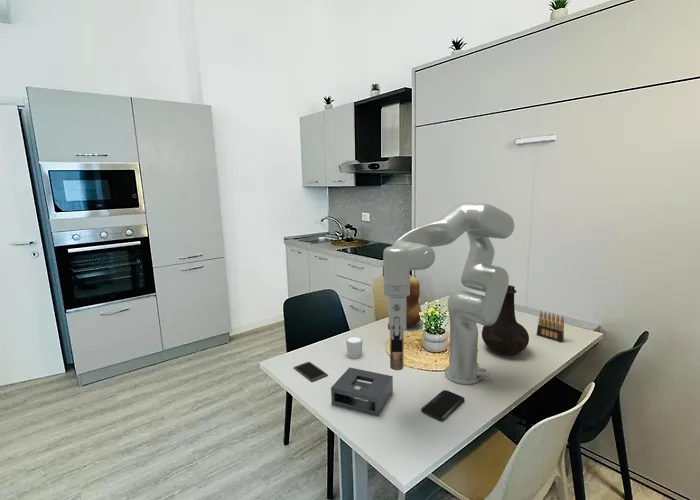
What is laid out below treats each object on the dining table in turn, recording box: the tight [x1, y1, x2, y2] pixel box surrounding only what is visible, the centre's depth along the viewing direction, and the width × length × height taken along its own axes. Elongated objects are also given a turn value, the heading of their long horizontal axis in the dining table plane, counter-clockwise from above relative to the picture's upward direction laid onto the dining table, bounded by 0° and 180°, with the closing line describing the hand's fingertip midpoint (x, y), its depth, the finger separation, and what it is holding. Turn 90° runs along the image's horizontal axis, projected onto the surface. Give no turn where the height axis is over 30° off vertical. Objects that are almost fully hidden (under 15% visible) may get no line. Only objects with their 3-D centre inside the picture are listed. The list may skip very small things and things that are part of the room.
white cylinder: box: [345, 335, 363, 359], centre depth 149 cm, size 7×7×7 cm
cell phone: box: [293, 361, 329, 383], centre depth 138 cm, size 7×14×1 cm, turn 38°
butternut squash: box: [406, 275, 422, 329], centre depth 178 cm, size 14×13×25 cm
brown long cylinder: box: [387, 317, 405, 371], centre depth 108 cm, size 4×4×16 cm
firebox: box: [330, 366, 394, 417], centre depth 119 cm, size 16×14×6 cm
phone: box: [420, 389, 466, 423], centre depth 115 cm, size 8×1×15 cm
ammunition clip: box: [536, 309, 565, 344], centre depth 160 cm, size 11×2×12 cm, turn 38°
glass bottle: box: [481, 284, 530, 356], centre depth 148 cm, size 18×18×28 cm
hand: (396, 347), depth 109 cm, fingers closed on brown long cylinder, 4 cm apart
